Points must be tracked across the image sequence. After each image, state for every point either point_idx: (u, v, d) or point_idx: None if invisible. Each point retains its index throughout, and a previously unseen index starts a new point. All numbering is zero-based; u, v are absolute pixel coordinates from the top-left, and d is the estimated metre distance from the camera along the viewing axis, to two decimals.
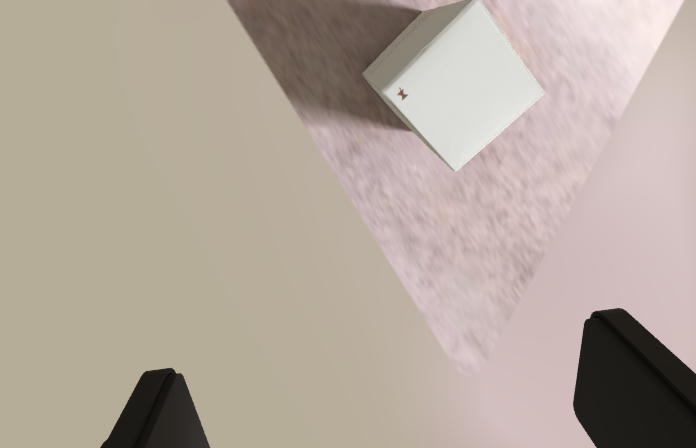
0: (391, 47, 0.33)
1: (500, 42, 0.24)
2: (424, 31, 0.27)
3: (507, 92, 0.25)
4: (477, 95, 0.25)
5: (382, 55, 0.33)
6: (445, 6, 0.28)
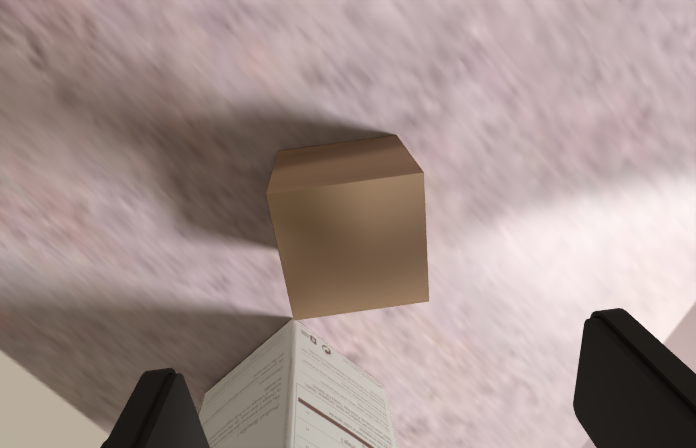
0: (229, 403, 0.20)
1: None
2: None
3: None
4: None
5: (221, 402, 0.20)
6: (280, 447, 0.15)
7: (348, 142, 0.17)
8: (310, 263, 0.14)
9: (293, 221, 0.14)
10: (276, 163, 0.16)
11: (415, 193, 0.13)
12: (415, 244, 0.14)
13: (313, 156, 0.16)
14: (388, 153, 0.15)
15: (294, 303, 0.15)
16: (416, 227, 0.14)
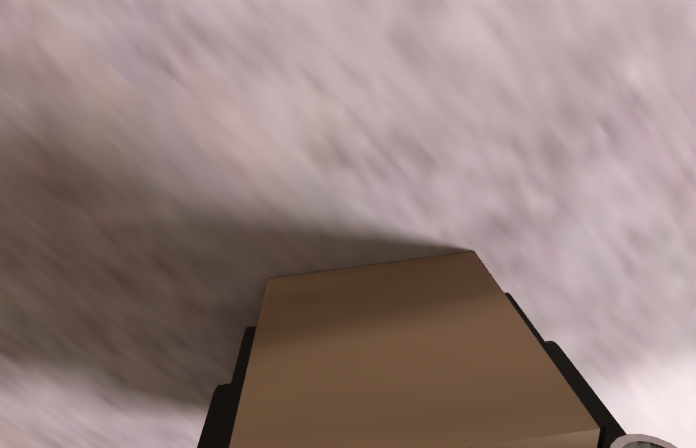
0: None
1: None
2: None
3: None
4: None
5: None
6: None
7: (391, 267, 0.10)
8: None
9: None
10: (260, 326, 0.08)
11: None
12: None
13: (330, 310, 0.09)
14: (480, 321, 0.08)
15: None
16: None
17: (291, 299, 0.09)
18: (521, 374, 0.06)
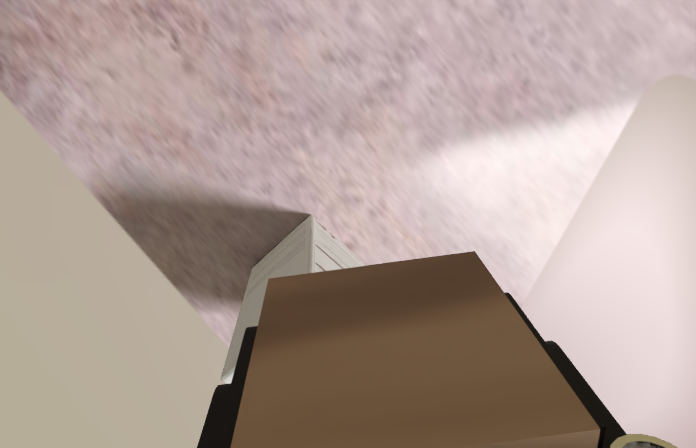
0: (271, 261, 0.32)
1: None
2: None
3: None
4: None
5: (265, 264, 0.32)
6: (306, 259, 0.27)
7: (392, 268, 0.10)
8: None
9: None
10: (261, 326, 0.08)
11: None
12: None
13: (331, 311, 0.09)
14: (481, 321, 0.08)
15: None
16: None
17: (292, 299, 0.09)
18: (522, 374, 0.06)
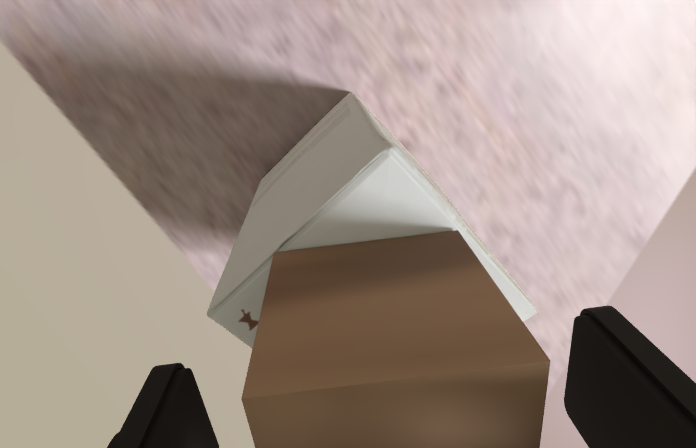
0: (292, 155, 0.20)
1: (445, 229, 0.11)
2: (314, 170, 0.14)
3: None
4: None
5: (281, 164, 0.21)
6: (359, 116, 0.15)
7: (384, 243, 0.11)
8: None
9: (293, 439, 0.07)
10: (268, 289, 0.10)
11: (529, 394, 0.07)
12: None
13: (330, 277, 0.10)
14: (459, 284, 0.09)
15: None
16: (522, 443, 0.08)
17: (295, 268, 0.10)
18: (490, 323, 0.08)
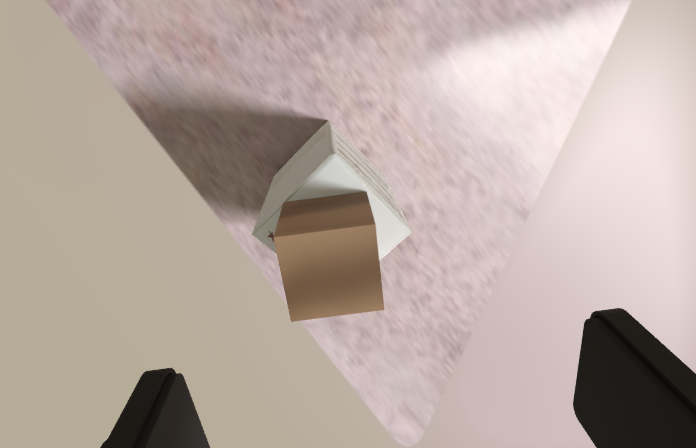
0: (293, 159, 0.34)
1: (361, 191, 0.25)
2: (303, 166, 0.28)
3: None
4: None
5: (286, 165, 0.35)
6: (327, 138, 0.29)
7: (332, 197, 0.25)
8: (302, 282, 0.21)
9: (290, 254, 0.21)
10: (281, 213, 0.23)
11: (370, 237, 0.21)
12: (372, 270, 0.21)
13: (307, 208, 0.23)
14: (356, 208, 0.23)
15: (291, 309, 0.22)
16: (372, 259, 0.21)
17: (292, 206, 0.24)
18: (362, 217, 0.21)
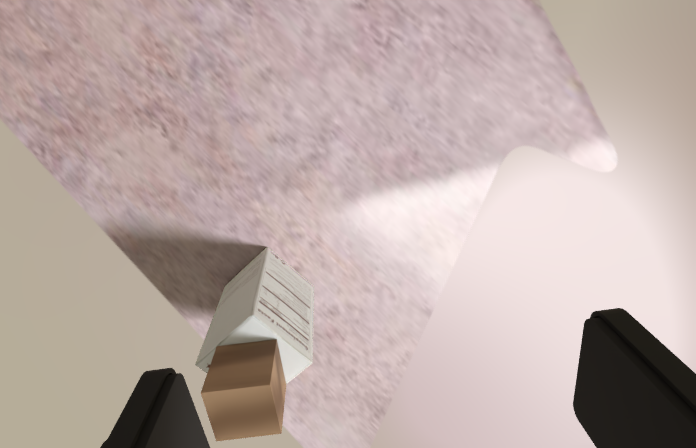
0: (237, 282, 0.44)
1: (273, 338, 0.35)
2: (236, 307, 0.38)
3: (284, 364, 0.36)
4: None
5: (233, 284, 0.44)
6: (256, 282, 0.39)
7: (251, 344, 0.34)
8: (222, 418, 0.31)
9: (213, 402, 0.31)
10: (212, 361, 0.33)
11: (267, 392, 0.30)
12: (270, 411, 0.31)
13: (230, 357, 0.33)
14: (263, 362, 0.32)
15: (216, 434, 0.32)
16: (270, 404, 0.31)
17: (221, 353, 0.34)
18: (264, 374, 0.31)
